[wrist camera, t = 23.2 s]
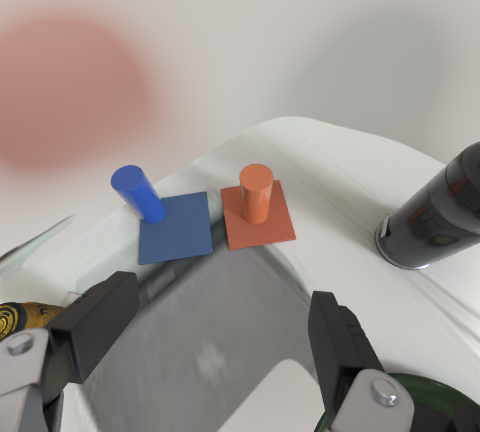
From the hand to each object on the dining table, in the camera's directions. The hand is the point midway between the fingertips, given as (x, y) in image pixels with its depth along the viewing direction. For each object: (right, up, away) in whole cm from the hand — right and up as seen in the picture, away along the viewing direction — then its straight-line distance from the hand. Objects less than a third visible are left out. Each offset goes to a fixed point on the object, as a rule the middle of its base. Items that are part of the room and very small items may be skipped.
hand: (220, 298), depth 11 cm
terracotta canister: (+4, +4, +34) cm, 34 cm away
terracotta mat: (+4, +4, +34) cm, 35 cm away
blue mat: (-11, +2, +34) cm, 36 cm away
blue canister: (-16, +4, +35) cm, 39 cm away
